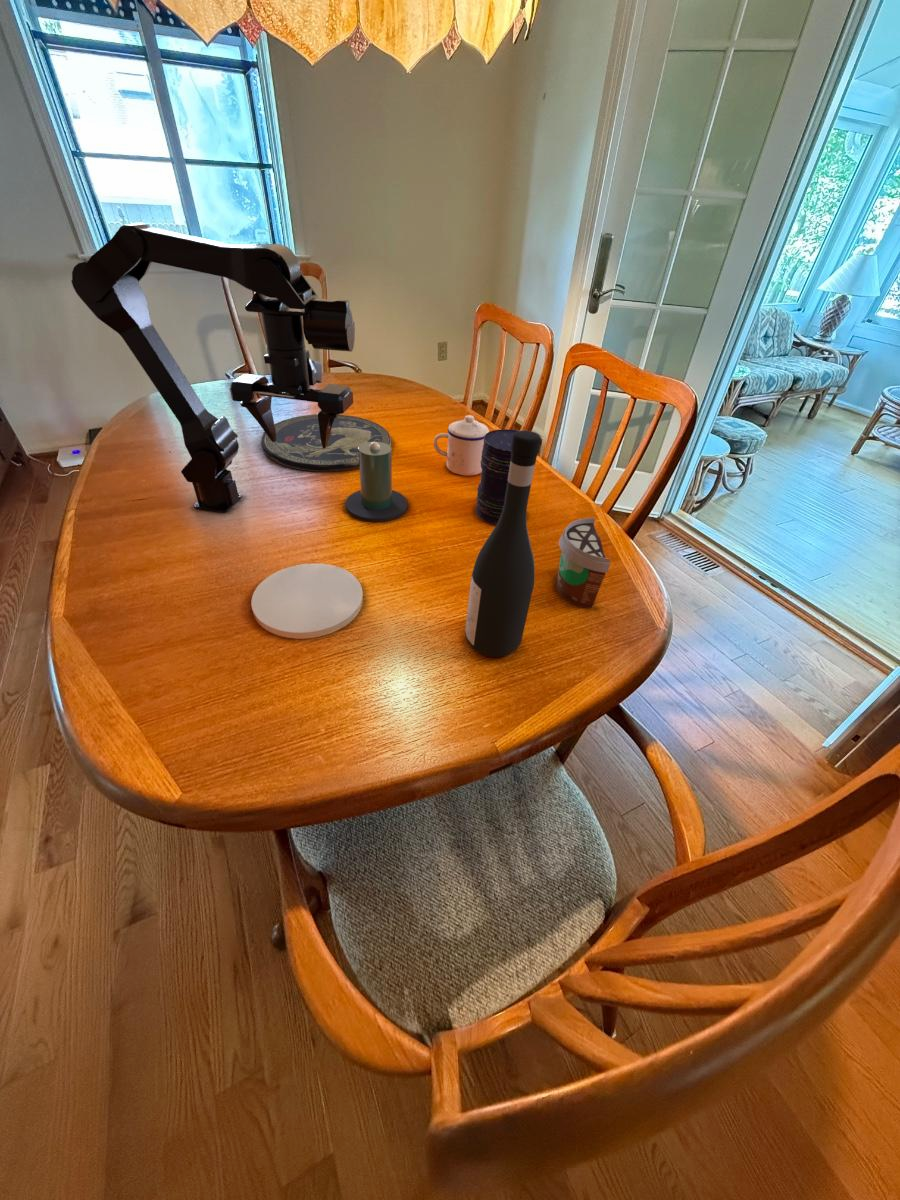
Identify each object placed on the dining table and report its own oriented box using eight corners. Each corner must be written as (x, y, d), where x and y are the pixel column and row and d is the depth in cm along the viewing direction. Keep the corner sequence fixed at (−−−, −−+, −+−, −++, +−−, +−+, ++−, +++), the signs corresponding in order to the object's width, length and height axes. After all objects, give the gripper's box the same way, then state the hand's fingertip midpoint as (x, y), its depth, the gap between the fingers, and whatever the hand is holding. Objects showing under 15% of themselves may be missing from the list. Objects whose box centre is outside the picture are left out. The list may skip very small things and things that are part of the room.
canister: (373, 513, 93) (370, 452, 85) (355, 500, 96) (351, 440, 89) (398, 504, 96) (398, 444, 89) (380, 492, 100) (378, 433, 92)
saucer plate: (232, 628, 69) (230, 622, 68) (280, 562, 81) (279, 556, 80) (343, 647, 68) (342, 640, 67) (375, 577, 80) (375, 571, 79)
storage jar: (478, 526, 94) (487, 450, 84) (472, 500, 101) (479, 428, 91) (530, 526, 95) (544, 452, 85) (519, 500, 102) (532, 429, 93)
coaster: (337, 517, 93) (336, 513, 92) (356, 487, 102) (356, 484, 101) (399, 526, 92) (399, 522, 91) (413, 495, 101) (413, 492, 100)
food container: (544, 564, 86) (556, 513, 79) (580, 566, 86) (594, 516, 79) (554, 611, 76) (568, 558, 70) (593, 613, 76) (611, 561, 70)
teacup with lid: (486, 461, 116) (492, 411, 108) (483, 478, 109) (490, 426, 101) (435, 455, 116) (437, 405, 109) (430, 472, 109) (432, 420, 102)
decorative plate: (234, 452, 107) (294, 406, 129) (236, 460, 108) (295, 413, 130) (368, 474, 103) (405, 422, 126) (368, 482, 105) (405, 430, 127)
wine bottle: (456, 650, 68) (478, 440, 49) (474, 615, 74) (501, 415, 55) (512, 668, 67) (558, 457, 47) (526, 630, 72) (572, 429, 53)
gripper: (360, 340, 81) (365, 433, 91) (252, 328, 83) (268, 421, 93) (338, 358, 73) (345, 458, 83) (217, 344, 74) (239, 444, 84)
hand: (299, 444), depth 86 cm, fingers open, 9 cm apart
